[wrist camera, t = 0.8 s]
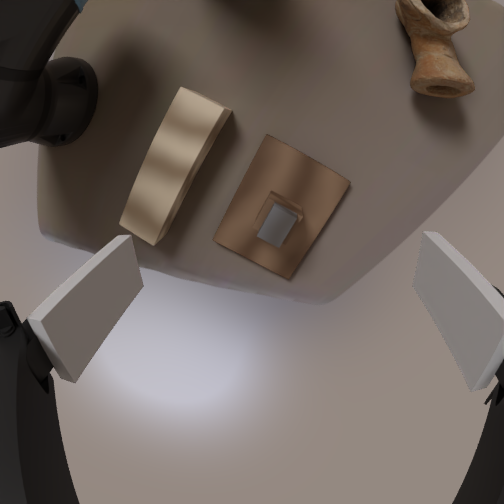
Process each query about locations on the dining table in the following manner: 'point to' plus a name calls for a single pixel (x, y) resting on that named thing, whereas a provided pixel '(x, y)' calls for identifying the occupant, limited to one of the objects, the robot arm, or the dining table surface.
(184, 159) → the beech bar
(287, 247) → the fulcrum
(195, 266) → the dining table surface
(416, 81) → the pipe
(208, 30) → the dining table surface
